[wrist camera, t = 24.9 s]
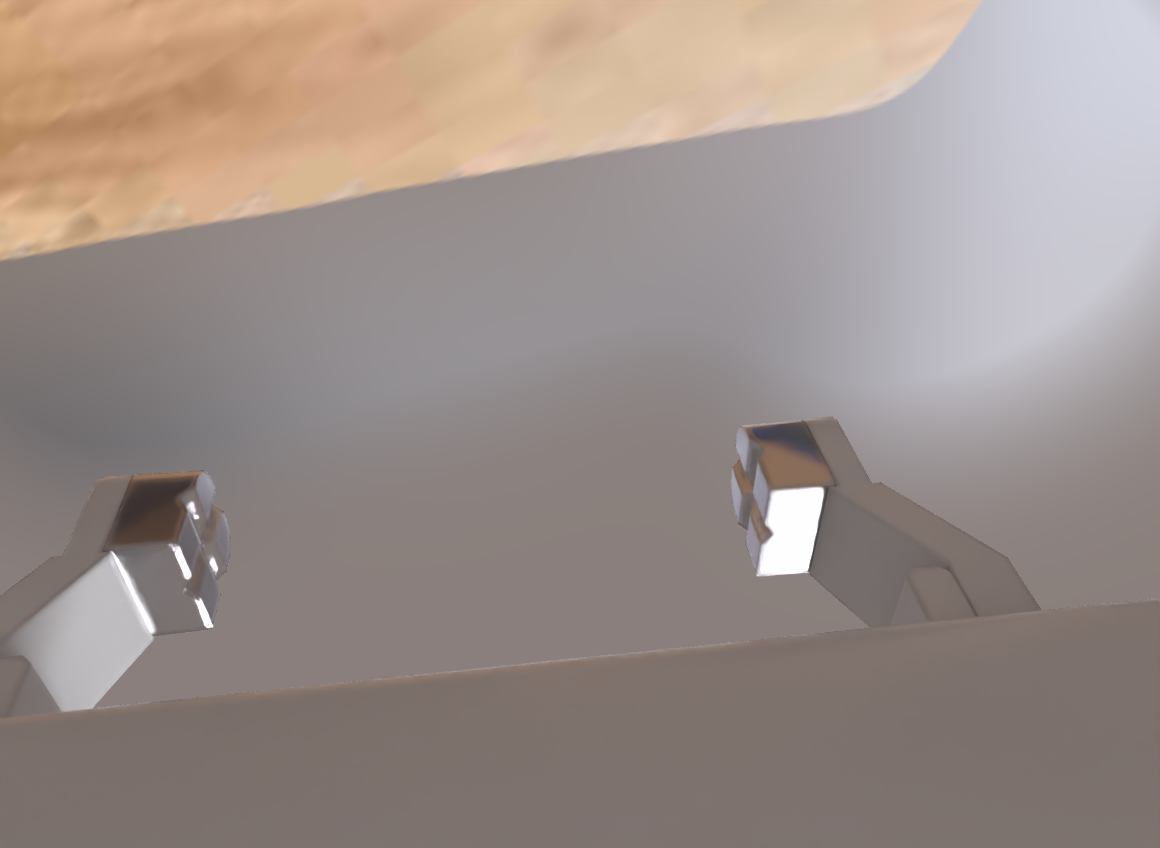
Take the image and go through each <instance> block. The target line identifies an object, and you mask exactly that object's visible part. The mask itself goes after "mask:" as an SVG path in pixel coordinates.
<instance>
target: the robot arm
mask: <svg viewBox="0 0 1160 848" xmlns="http://www.w3.org/2000/svg"><path fill="white" fill-rule="evenodd" d="M735 447H736V450H737V452H738V455H739V458H740V459H739V461H738V462H737V463H736V464H735V465H734V466H733V467H732V476H731V493H732V502H733V508H734V512H735V515H736V518H737V521H738V524H739V525H741V526H742V527H743V528H745V529H746V530H747V531H748V532H747V539H746V547H747V550H748V552H749V555H750V558H751V560H752V563H753V566H754V569H755V572H756V574H757V576H762V575H777V574H790V573H805V572H810V575H811V576H812V577H813V578H814V579H815V580H817V581H818V582H819V583H820V584H821V585H822V586H823V587H824V588H825V589H827V590H828V591H829V592H830V593H831V594H832V595H833V596H835V597H836V598H837V599H838V600H839V601H840V602H841V603H843V604H844V605H845V606H846V607H847V608H848V609H849V610H851V611H852V612H853V613H854V614H855V615H856V616H858V617H859V618H860V619H861V620H862V621H863V622H864V623H865V624H867V625H868V626H869V627H870V628H864V629H854V630H845V631H835V632H825V633H816V634H806V635H797V636H787V637H778V638H769V639H760V640H750V641H741V642H731V643H722V644H712V645H702V646H692V647H682V648H673V649H662V650H653V651H643V652H633V653H624V654H613V655H603V656H593V657H583V658H574V659H564V660H554V661H544V662H535V663H526V664H516V665H506V666H496V667H487V668H477V669H468V670H458V671H448V672H439V673H429V674H420V675H411V676H401V677H392V678H382V679H372V680H363V681H352V682H343V683H334V684H324V685H315V686H304V687H294V688H285V689H276V690H267V691H266V690H265V691H256V692H246V693H236V694H227V695H218V696H207V697H198V698H189V699H178V700H169V701H160V702H149V703H140V704H130V705H120V706H111V707H101V708H93V707H94V705H95V704H96V703H97V702H98V701H99V700H100V699H101V697H103V695H104V694H105V693H106V692H107V691H108V690H109V689H110V688H111V687H112V685H113V684H114V683H115V682H116V681H117V680H118V679H119V677H120V676H121V675H122V674H123V673H124V672H125V671H126V670H127V669H128V667H129V666H130V665H131V664H132V663H133V662H134V661H135V660H136V659H137V657H138V656H139V655H140V654H141V653H142V652H143V651H144V650H145V649H146V647H147V646H148V645H149V644H150V643H151V642H152V641H153V639H154V638H153V636H159V635H167V634H175V633H183V632H191V631H200V630H208V629H212V627H213V623H214V619H215V615H216V612H217V608H218V603H219V600H220V596H221V593H220V591H219V588H218V585H217V583H216V581H217V580H218V579H219V578H220V577H221V576H222V575H223V574H224V573H225V572H226V571H227V567H228V563H229V558H230V533H229V528H228V523H227V520H226V517H225V514H224V512H223V511H222V510H221V509H219V508H218V507H216V506H215V505H213V504H212V502H213V498H214V495H215V491H216V489H215V487H214V484H213V482H212V479H211V477H210V475H209V473H207V472H205V471H188V472H172V473H155V474H140V475H136V476H133V475H131V476H116V477H102V478H101V479H100V480H98V481H97V482H96V483H95V484H94V486H93V488H92V490H91V492H90V495H89V497H88V499H87V501H86V504H85V506H84V508H83V510H82V513H81V515H80V517H79V519H78V521H77V524H76V526H75V528H74V530H73V532H72V535H71V537H70V539H69V542H68V544H67V546H66V548H65V550H64V553H63V555H62V556H56V557H51V558H50V559H48V560H47V561H46V562H44V563H43V564H42V565H40V566H39V567H38V568H37V569H35V570H34V571H32V572H31V573H30V574H28V575H27V576H26V577H24V578H23V579H22V580H21V581H19V582H18V583H16V584H15V585H14V586H12V587H11V588H10V589H9V590H7V591H6V592H4V593H3V594H2V595H1V596H0V848H1160V598H1155V599H1145V600H1135V601H1125V602H1116V603H1107V604H1097V605H1087V606H1077V607H1067V608H1058V609H1048V610H1041V608H1040V607H1039V605H1038V604H1037V602H1036V601H1035V599H1034V598H1033V596H1032V594H1031V593H1030V591H1029V590H1028V588H1027V587H1026V585H1025V584H1024V582H1023V581H1022V579H1021V577H1020V576H1019V574H1018V573H1017V571H1016V570H1015V568H1014V567H1013V565H1012V564H1011V562H1010V561H1009V559H1008V557H1006V556H1004V555H1003V554H1001V553H999V552H997V551H996V550H994V549H992V548H991V547H989V546H987V545H986V544H984V543H982V542H981V541H979V540H977V539H975V538H974V537H972V536H970V535H969V534H967V533H965V532H964V531H962V530H960V529H959V528H957V527H955V526H953V525H952V524H950V523H948V522H947V521H945V520H943V519H942V518H940V517H938V516H937V515H935V514H933V513H931V512H930V511H928V510H926V509H925V508H923V507H921V506H920V505H918V504H916V503H915V502H913V501H911V500H909V499H908V498H906V497H904V496H903V495H901V494H899V493H898V492H896V491H894V490H893V489H891V488H889V487H887V486H886V485H884V484H882V483H881V482H880V483H872V482H871V481H870V479H869V477H868V475H867V473H866V472H865V470H864V468H863V466H862V464H861V463H860V461H859V459H858V457H857V455H856V453H855V452H854V450H853V448H852V446H851V444H850V442H849V441H848V439H847V437H846V435H845V433H844V431H843V430H842V428H841V426H840V424H839V422H838V421H837V420H836V419H835V418H834V417H822V418H814V419H813V418H812V419H803V420H801V421H789V422H778V423H766V424H756V425H744V426H739V429H738V432H737V435H736V443H735Z"/></svg>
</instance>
